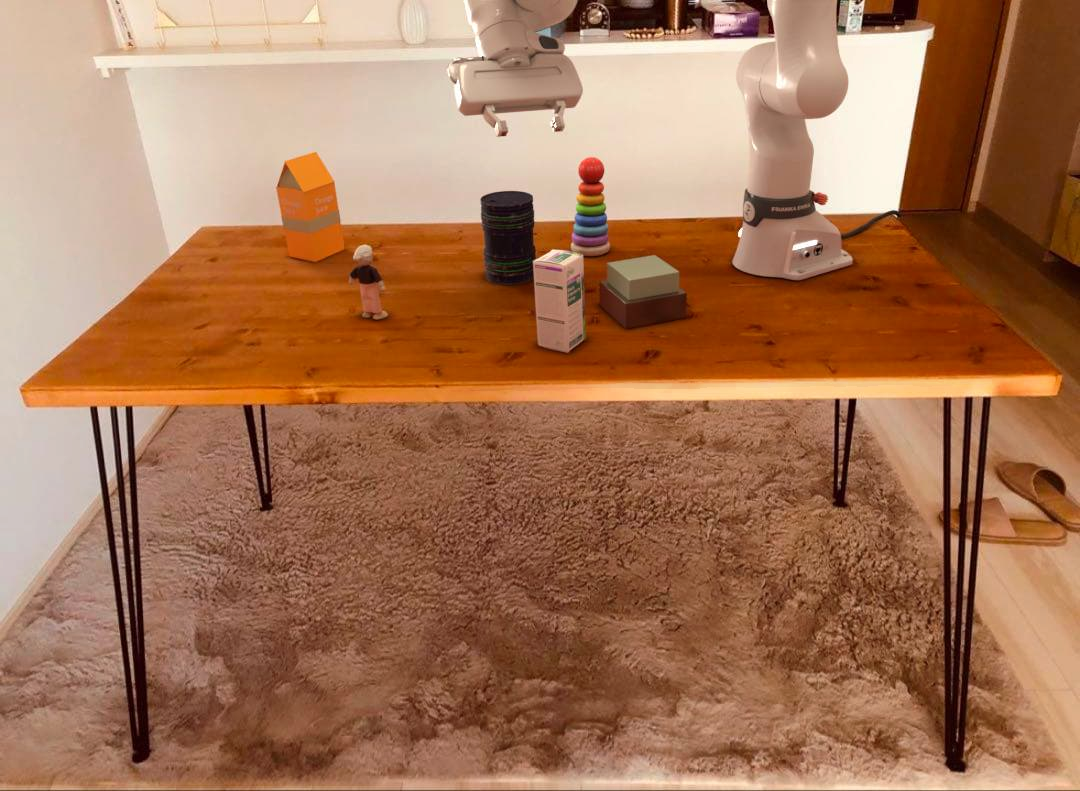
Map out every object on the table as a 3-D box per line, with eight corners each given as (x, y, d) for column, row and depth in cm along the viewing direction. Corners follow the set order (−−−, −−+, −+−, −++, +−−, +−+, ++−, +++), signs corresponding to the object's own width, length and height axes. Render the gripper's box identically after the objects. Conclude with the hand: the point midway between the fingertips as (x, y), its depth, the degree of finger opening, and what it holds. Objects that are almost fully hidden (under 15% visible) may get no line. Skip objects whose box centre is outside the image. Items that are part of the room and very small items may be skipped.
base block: (656, 295, 151) (656, 271, 148) (685, 317, 142) (687, 292, 139) (599, 305, 148) (599, 281, 145) (625, 329, 138) (626, 303, 136)
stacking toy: (607, 258, 168) (607, 163, 159) (567, 257, 170) (565, 162, 161) (612, 245, 175) (613, 153, 166) (574, 244, 176) (572, 153, 167)
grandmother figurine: (397, 313, 148) (388, 243, 142) (387, 321, 145) (377, 250, 139) (358, 308, 150) (348, 240, 144) (347, 317, 147) (336, 247, 141)
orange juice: (288, 256, 176) (270, 159, 166) (318, 243, 183) (303, 149, 173) (315, 262, 172) (298, 163, 163) (345, 249, 179) (331, 153, 169)
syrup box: (568, 353, 131) (566, 265, 124) (536, 346, 134) (532, 259, 127) (586, 339, 135) (585, 253, 128) (554, 332, 138) (552, 247, 131)
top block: (654, 274, 147) (654, 254, 146) (678, 291, 140) (679, 271, 138) (606, 282, 145) (606, 262, 143) (629, 300, 137) (629, 280, 136)
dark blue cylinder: (524, 262, 168) (520, 187, 160) (545, 278, 160) (542, 200, 153) (477, 272, 164) (471, 195, 157) (497, 288, 156) (491, 208, 149)
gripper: (448, 45, 127) (471, 124, 124) (572, 39, 134) (597, 115, 131) (440, 72, 133) (463, 149, 130) (560, 65, 140) (583, 138, 137)
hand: (531, 132), depth 130 cm, fingers open, 8 cm apart
